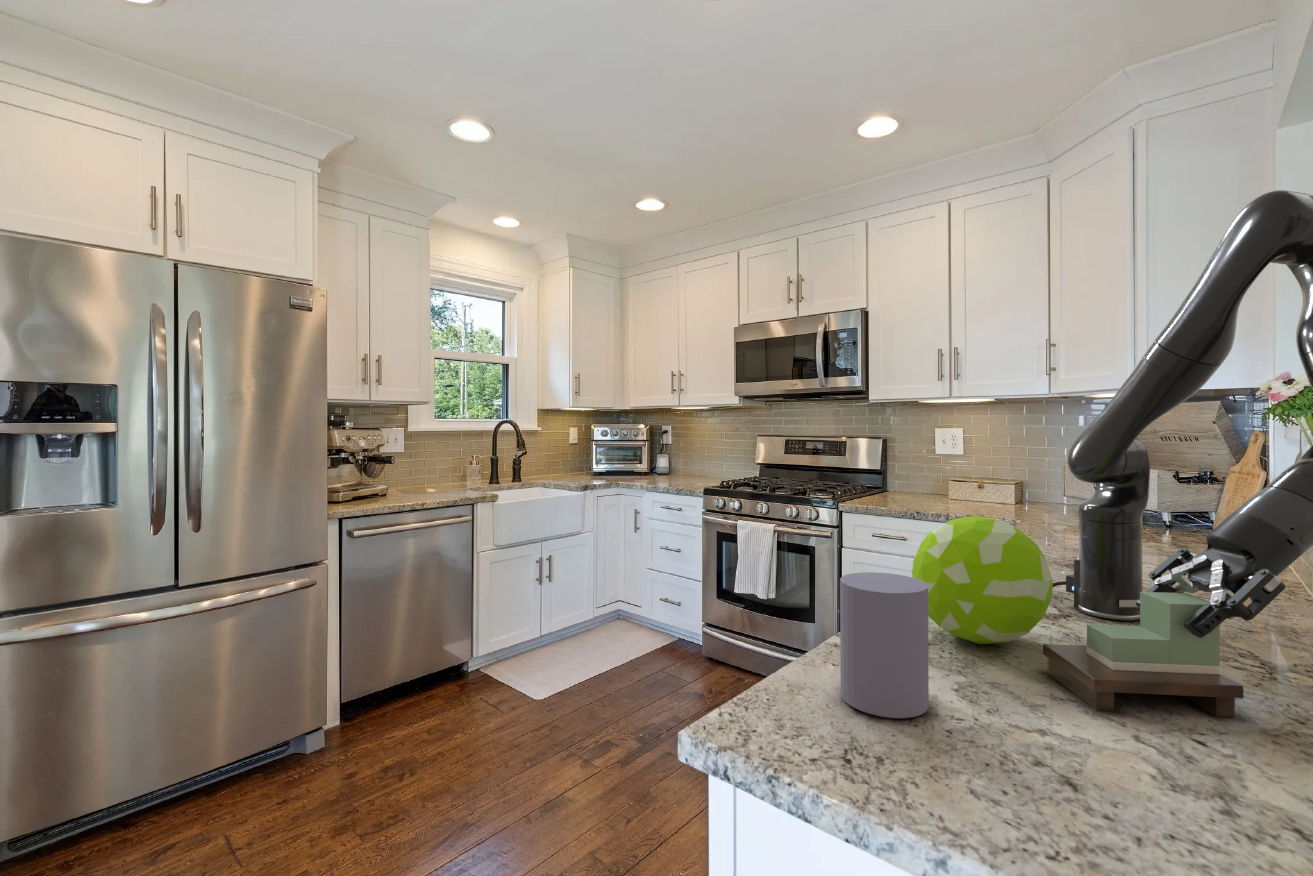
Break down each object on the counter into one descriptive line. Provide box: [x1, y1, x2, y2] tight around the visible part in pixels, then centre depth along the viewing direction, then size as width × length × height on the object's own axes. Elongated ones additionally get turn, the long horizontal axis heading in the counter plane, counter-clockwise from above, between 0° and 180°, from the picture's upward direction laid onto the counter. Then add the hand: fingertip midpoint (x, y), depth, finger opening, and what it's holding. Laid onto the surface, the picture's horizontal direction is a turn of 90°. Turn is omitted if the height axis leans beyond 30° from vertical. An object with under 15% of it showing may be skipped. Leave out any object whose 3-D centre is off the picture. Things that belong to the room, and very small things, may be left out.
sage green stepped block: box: [1086, 591, 1221, 675], centre depth 75 cm, size 12×6×8 cm, turn 83°
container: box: [839, 571, 930, 719], centre depth 74 cm, size 10×10×15 cm
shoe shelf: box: [1042, 643, 1244, 718], centre depth 76 cm, size 16×12×4 cm
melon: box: [911, 515, 1054, 645], centre depth 96 cm, size 20×25×20 cm
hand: (1165, 620), depth 75 cm, fingers open, 8 cm apart
